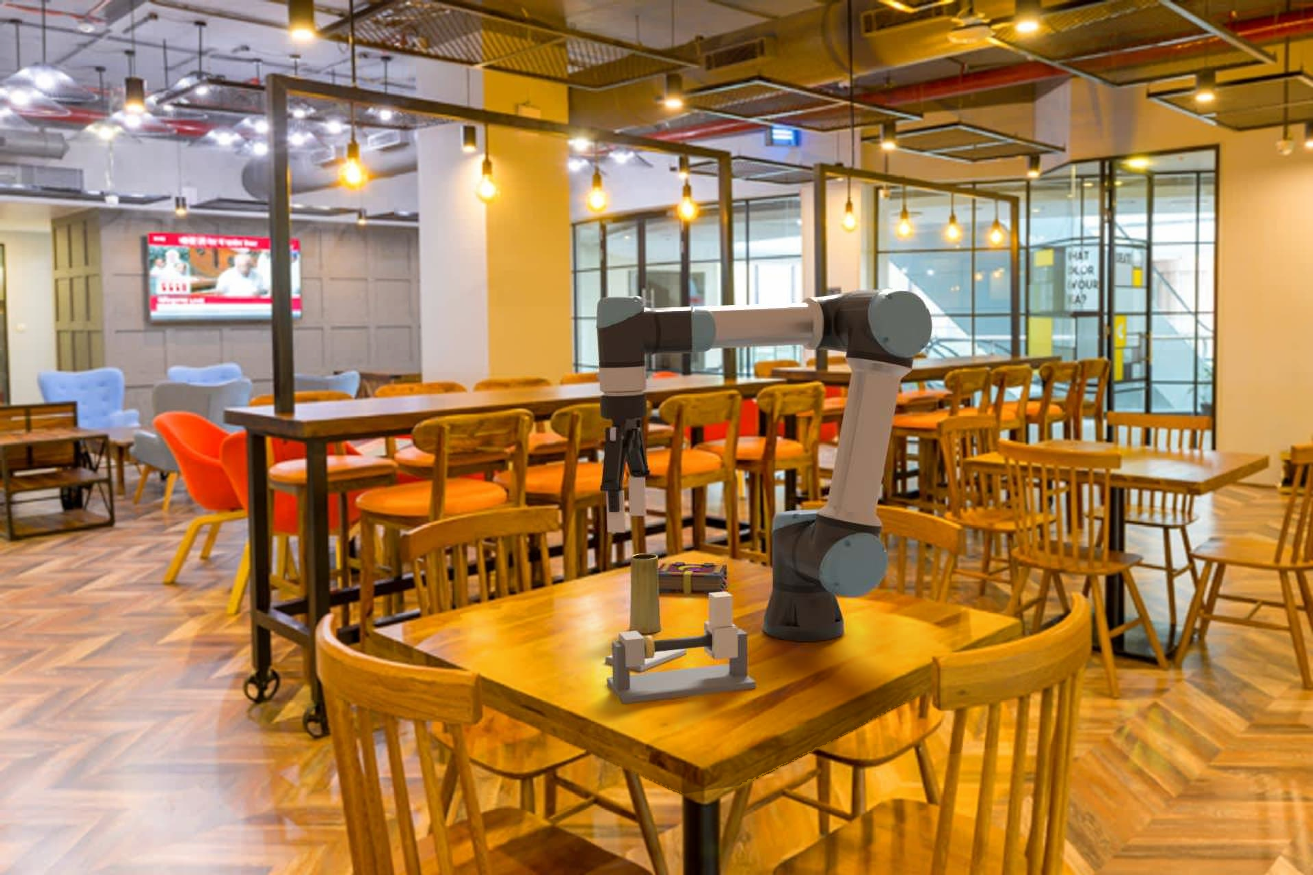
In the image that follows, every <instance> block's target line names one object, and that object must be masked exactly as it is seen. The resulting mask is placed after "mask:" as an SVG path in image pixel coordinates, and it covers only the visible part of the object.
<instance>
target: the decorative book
mask: <svg viewBox="0 0 1313 875" xmlns="http://www.w3.org/2000/svg"><path fill="white" fill-rule="evenodd" d="M727 567H728V566H727V564H715V563H713V562H704V563H701V564H700V563H685V561H683V562H681V561H676V562H675V563H674V562H673V563H665V562H663V563H662V564H661V565H660V566H658V581H659V594H660V593H663V594H664V593H668V594H669V593H683V595H691V594H692V593H695V594H704V595H709V593H715V592H726V590H725V589H726V588H727V587H726V585H727V586H730V583H729V582H728V581H729V575H730V573H729V571H728V568H727Z"/></svg>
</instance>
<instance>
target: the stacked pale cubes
mask: <svg viewBox="0 0 1313 875" xmlns="http://www.w3.org/2000/svg"><path fill="white" fill-rule="evenodd" d="M733 602H734V601H733V595H732V594H730V593H729V592H728V591H725V592H715V593H709V594H708V620H707V621H704V622H703V626H704V627H703V628H704V629H703V636H704V635H712V646H707V647H703V648H704V649H703V650H704V652H705V653H706V655H708V656H710V657H711V659H713V660H714V661H715V660H716V661H717V660H724V659H725V660H726V659H729V658H735V657H738V629H739V628H738V626H737V625H736V624H734V623H733V622H734V621H733V620H734V619H733V618H734V617H733V615H734V614H733Z"/></svg>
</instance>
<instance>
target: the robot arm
mask: <svg viewBox="0 0 1313 875" xmlns="http://www.w3.org/2000/svg"><path fill="white" fill-rule="evenodd" d="M595 328H596V335H597V337H596V339H597V352H598V353H597V354H598V372H597V373H596V375H595V377H596V379H598V380H599V391H600V392H601V393H603V394H602V395H601V396H600V397H599V407H600V408H599V409H600V410H599V412H600V414H599V416H600V417H601V419H605V420H611V422H612V423H611V427H610V426H609V427H605V430H604V431H605V434H604V435H605V441H604V442H605V444H604V452H603V453H604V455H603V462H602V463H603V465H602V474H601V475H602V477H601V485H600V486H599V490H600V492H605V495H606V496H605V500H606V526H607V527H606V529H607V533H625V532H626V513H625V512H626V511H625V510H626V508H625V490H623V483H624V477H625V471H626V466H627V468H628V472H629V475H630V476H629V477H628V500H629V502H628V503H629V504H628V505H629V507H628V508H629V516H630V517H631V516H632V517H634V516H635V517H646V516H647V495H646V477H650V475H651V471H650V469H649V464H648V458H647V453H646V452H647V451H646V447H645V446H646V445H645V440H644V434H643V421H642V418H644V417H646V416H647V414H648V405H647V402H648V401H647V395H646V394H645V393H644V392H645V391H646V390H647V371H646V364H647V363H646V355H647V356H649V355H650V356H651V355H673V354H675V355H676V354H678V355H679V354H692V355H694V354H696V353H704V352H705V353H706V352H708V351H710V350H711V349H732V348H733V349H735V348H756V347H758V348H759V347H760V348H761V347H779V346H780V347H781V346H782V347H783V346H802V347H804V349H806V350H809V351H811V350H812V351H814V350H815V351H816V350H818V351H819V350H820V351H821V350H824V351H835V352H842V353H845V354H846V355H845V362H846V363H847V365H848V367H849V368H850V369H851V370H850V371H851V374H850V381H849V384H848V390H847V396H846V400H845V407H844V412H843V417H842V422H841V427H840V434H839V439H838V445H837V450H836V453H835V454H836V455H835V460H834V465H833V470H832V476H831V482H830V486H829V492H828V498H827V503H826V504H824V506H823V507H821V508H820V509H799V510H789V511H787V510H786V511H781V512H778V513H776V514H775V515H774V516H773V519H772V525H771V526H772V527H771V528H772V529H771V536H772V538H771V540H772V543H771V547H772V548H771V549H772V550H771V551H772V553H771V554H772V559H771V560H772V563H771V564H772V566H771V567H772V589H771V590H772V591H771V594H770V597H769V600H768V603H767V605H766V609H765V612H764V615H763V620H762V622H763V624H762V626H763V627H762V628H763V629H762V630H763V632H765V634H767V635H769V636H771V637H773V638H777V639H782V640H787V641H794V642H818V641H819V642H820V641H826V640H832V639H835V638H838V637H840V636H842V635H843V633H844V632H845V630H844V628H845V626H844V624H845V623H844V617H843V614H842V611H841V608H840V604H839V601H838V598H837V595H839V596H842V597H846V598H858V597H863V596H865V595H867V594H869V593H870V592H871V591H872V590H874V589H876V588H877V587H878V586H879V584H881V582H882V580H883V579H884V577H885V575H886V573H887V572H888V571H887V570H888V565H889V554H888V551H887V549H886V548H885V544H884V543H883V541H882V540H881V534H882V530H883V523H882V521H881V519H880V518H879V517H878V515H877V509H878V502H879V498H880V491H881V487H882V480H883V476H884V471H885V465H886V460H887V454H888V448H889V443H890V439H891V432H892V428H893V422H894V417H895V412H896V407H897V401H898V396H899V390H900V386H901V380H902V379H903V377H905V376H907V375H908V374H909V373H910V372H912V370H913V364H914V358H915V356H917V355H919V353H921V352H922V350H924V349H925V348H926V347H927V346H928V344H929V343H930V340H931V337H932V333H933V332H932V331H933V319H932V315H931V312H930V309H929V308H928V306H927V305H926V304H925V302H924V300H923V299H922V298H921V296H919V295H918V294H916V293H915V292H912V291H910V290H907V289H904V288H903V289H902V288H897V287H896V288H895V287H894V288H893V287H886V288H880V289H879V288H878V289H863V290H862V289H860V290H858V289H857V290H852V291H848V292H847V291H846V292H842V293H838V294H837V293H836V294H832V295H826V296H817V297H816V296H815V297H814V296H813V297H807V298H805V299H803V300H802V301H801V303H771V304H769V303H768V304H741V305H739V304H738V305H735V304H734V305H714V306H713V305H711V306H710V305H709V306H693V305H691V306H677V307H676V306H675V307H673V306H672V307H645V305H644V299H643V298H642V296H637V295H635V296H633V295H632V296H609V297H608V296H606V297H601V298H600V299H599V300H598V301H597V306H596V325H595Z"/></svg>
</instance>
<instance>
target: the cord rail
mask: <svg viewBox="0 0 1313 875" xmlns="http://www.w3.org/2000/svg"><path fill="white" fill-rule="evenodd" d="M707 646H712V635H704V634H703V635H695V636H686V637H678V638H677V637H676V638H667V639H657V640H654V638H653V636H652V635H651V634H650V635H649V634H648V635H643V634H642V633H638V632H637V631H630V630H629V631H622V632H618V640H617V641H616V640H615V641H612V642H611V649H612V650H611V651H612V652H611V655H612V664H611V665H612V666H611V667H612V676H610V677H606V681H607V682H606V684H607V685H608V687H609V688H610V689H611V690H612V692H614V694H615V695H616V696H617V698H619V700H620V701H621V702H622V703H623V704H632V703H633V704H634V703H642V702H649V701H659V700H665V699H666V700H667V699H674V698H682V697H684V698H685V697H692V696H699V695H706V694H717V693H722V692H723V693H725V692H732V691H739V690H748V689H749V690H750V689H755V688H757V687H756V685H757V684H756V683H757V681H755V680H754V679H753V678H751V677H750V676H749V675H748V632H746V631H744V630H743V629H742V628H738V657H735V658H728V660H729V661H728V663H724V664H718V665H717V664H715V665H708V666H707V665H706V666H698V667H691V668H680V669H673V670H664V671H663V670H662V671H654V672H645V673H636V674H631V672H630V671H631V669H630V667H634V666H643V665H645V659H649V658H653V657H654V654H655V652H660V651H670V650H679V649H686V650H687V649H696V648H697V649H698V648H704V647H707Z"/></svg>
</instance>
